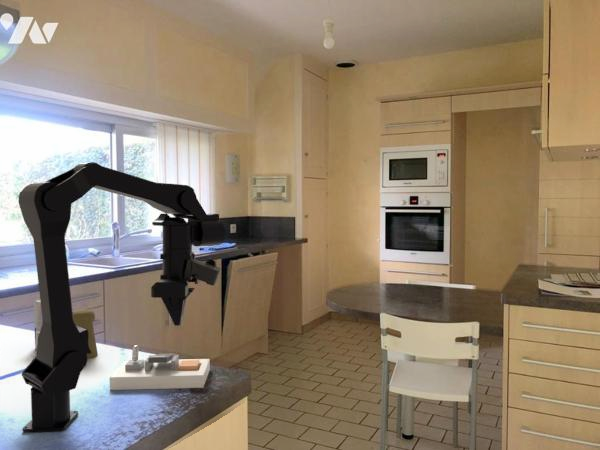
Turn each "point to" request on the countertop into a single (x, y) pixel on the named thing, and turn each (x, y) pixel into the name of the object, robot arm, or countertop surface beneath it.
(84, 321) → the cork
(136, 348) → the toggle lever
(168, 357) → the rocker switch
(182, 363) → the push button
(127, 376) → the switch panel
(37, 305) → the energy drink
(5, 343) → the countertop surface
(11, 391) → the countertop surface
